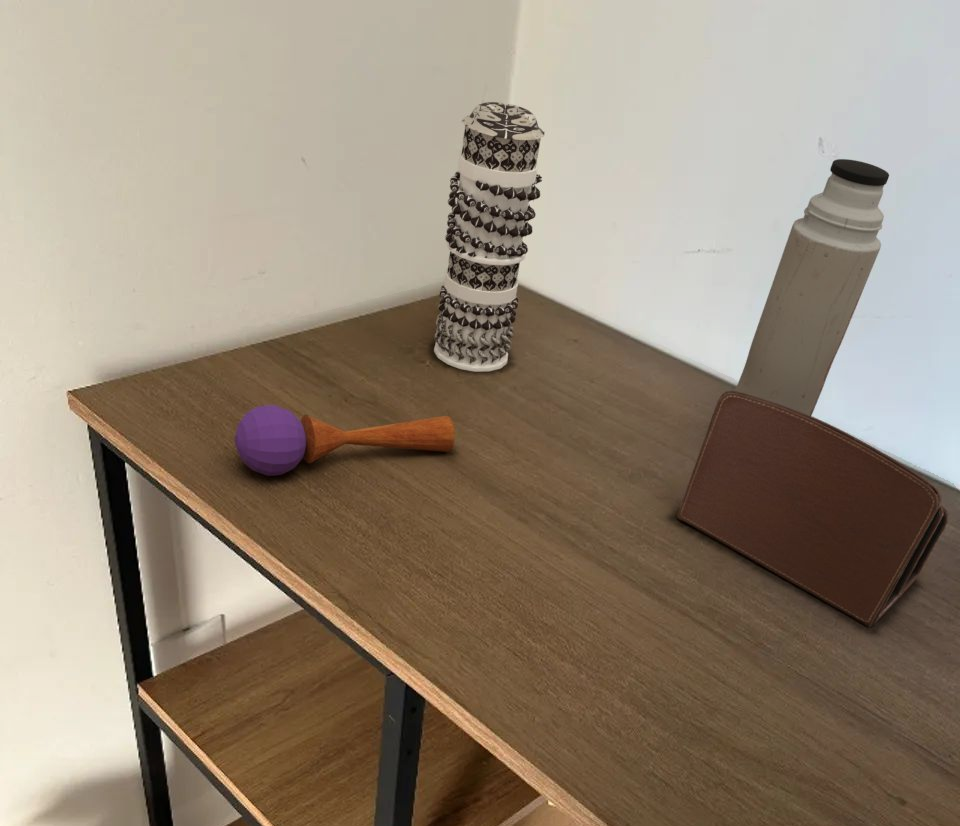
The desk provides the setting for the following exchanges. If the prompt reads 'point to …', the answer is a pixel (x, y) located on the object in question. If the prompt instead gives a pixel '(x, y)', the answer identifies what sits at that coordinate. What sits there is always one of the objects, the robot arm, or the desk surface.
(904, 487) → the letter holder
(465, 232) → the white patterned cylinder
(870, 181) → the thermos bottle
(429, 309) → the desk surface
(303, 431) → the kendama
